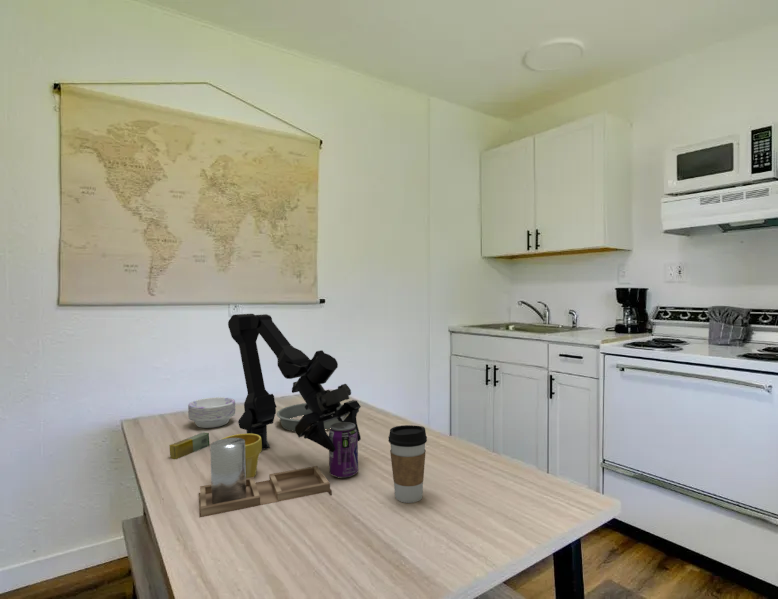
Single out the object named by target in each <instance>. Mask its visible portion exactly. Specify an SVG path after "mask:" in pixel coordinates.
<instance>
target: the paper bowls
mask: <svg viewBox="0 0 778 599" xmlns="http://www.w3.org/2000/svg"><path fill="white" fill-rule="evenodd" d="M187 406H188V407H187V410H188V412H187V413H188V414H187V416H188V419H189V420H191V421H193V422H194V424H195V425H196V426H197V427H199V428H202V429H212V428H214V429H215V428H220V427H222V426H225V425H226V424H228V423H229V422H230V419H231V418H232V417H234V416H235V415H236V400H235V399H233V398H231V397H224V396H223V397H221V396H220V397H219V396H218V397H207V398H199V399H196V400H193V401H191V402H189V403H188V405H187Z"/></svg>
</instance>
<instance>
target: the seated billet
mask: <svg viewBox="0 0 778 599" xmlns="http://www.w3.org/2000/svg"><path fill="white" fill-rule="evenodd" d="M209 448H210V479H211V480H210V481H211V483H210V485H211V487H212V503H213V504H217V503H222V502H227V501H233V500H238V499H243V498H246V460H245V440H244V439H241V438H226V439H222V438H221V439H217V440H215V441H213V442H212V443H211V444H210V446H209Z"/></svg>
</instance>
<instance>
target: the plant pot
mask: <svg viewBox="0 0 778 599" xmlns="http://www.w3.org/2000/svg"><path fill="white" fill-rule="evenodd" d="M226 438H241V439H244V440H245V460H246V478H251V477H254V478H255V476H256V475H257V469H258V461H259V458H260V457H259V456H260V454H261V453H262V450H263V449H262V440H261V436H259V435H257V434H247V433H237V434H232V435H228V436H225V437H223V438H221V439H226Z"/></svg>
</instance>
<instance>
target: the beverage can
mask: <svg viewBox="0 0 778 599" xmlns="http://www.w3.org/2000/svg"><path fill="white" fill-rule="evenodd" d="M330 428H331V429H329V431H328V436H329V438H330V440H331V441H332V443H333V445H334V447H335V451H334V452H331V451H329V450H328V459H329V460H328V462H329V463H328V464H329V466H328V467H329V468H328V469H329V470H328V472H329V474H330V475H331V476H334V477H336V478H338V477H339V479H345V478H350V477H353V476H354V475H356V474H357V473H358V472H359V445H358V443H359V441H358V433H357V430H356V428H355V424H354V423H350V422H339V423H335V424H332V425H331V426H330Z"/></svg>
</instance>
